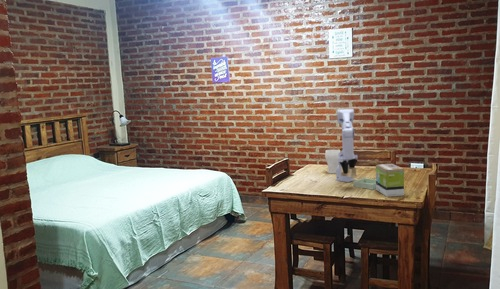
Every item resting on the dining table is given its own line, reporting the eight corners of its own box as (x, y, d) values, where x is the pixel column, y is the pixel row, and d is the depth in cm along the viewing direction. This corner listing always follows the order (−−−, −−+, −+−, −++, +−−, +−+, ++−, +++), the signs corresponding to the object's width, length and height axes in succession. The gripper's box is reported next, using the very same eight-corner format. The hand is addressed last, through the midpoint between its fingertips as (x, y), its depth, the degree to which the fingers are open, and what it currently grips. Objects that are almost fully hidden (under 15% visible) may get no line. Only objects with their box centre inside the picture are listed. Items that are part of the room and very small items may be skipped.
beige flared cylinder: (343, 171, 293) (343, 149, 291) (337, 174, 285) (337, 152, 283) (328, 170, 299) (328, 149, 297) (322, 173, 290) (322, 151, 288)
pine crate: (340, 175, 247) (340, 167, 246) (346, 174, 250) (346, 166, 250) (350, 177, 242) (350, 169, 241) (356, 175, 245) (356, 168, 244)
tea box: (375, 190, 239) (375, 164, 238) (392, 189, 240) (392, 163, 238) (386, 197, 225) (386, 169, 223) (404, 195, 225) (404, 168, 224)
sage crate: (353, 186, 251) (353, 181, 250) (364, 182, 258) (364, 178, 257) (372, 189, 241) (372, 184, 240) (384, 186, 248) (384, 181, 247)
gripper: (345, 151, 236) (346, 175, 238) (362, 148, 245) (362, 171, 247) (335, 150, 242) (336, 174, 243) (351, 147, 251) (352, 170, 253)
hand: (348, 172), depth 246 cm, fingers closed on pine crate, 5 cm apart
